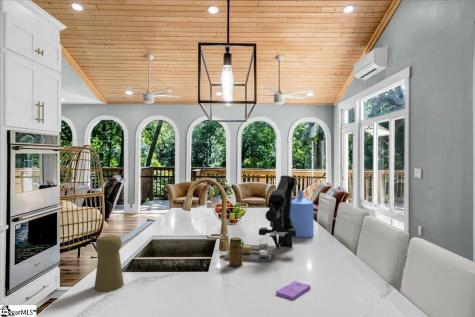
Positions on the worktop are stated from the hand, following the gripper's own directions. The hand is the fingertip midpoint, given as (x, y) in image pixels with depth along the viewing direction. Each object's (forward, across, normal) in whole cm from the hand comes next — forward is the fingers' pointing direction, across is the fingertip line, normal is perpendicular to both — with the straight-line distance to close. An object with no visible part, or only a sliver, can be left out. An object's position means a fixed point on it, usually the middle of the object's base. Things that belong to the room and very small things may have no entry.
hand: (277, 248), depth 159 cm
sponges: (+3, -9, +45) cm, 46 cm away
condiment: (+3, +17, +21) cm, 27 cm away
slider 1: (+1, +15, +7) cm, 16 cm away
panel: (+2, +13, +3) cm, 14 cm away
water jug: (+3, -12, -42) cm, 44 cm away
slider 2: (+1, +7, 0) cm, 7 cm away
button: (0, +6, +12) cm, 13 cm away
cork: (+3, +60, +53) cm, 80 cm away
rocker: (-1, +21, -4) cm, 22 cm away
